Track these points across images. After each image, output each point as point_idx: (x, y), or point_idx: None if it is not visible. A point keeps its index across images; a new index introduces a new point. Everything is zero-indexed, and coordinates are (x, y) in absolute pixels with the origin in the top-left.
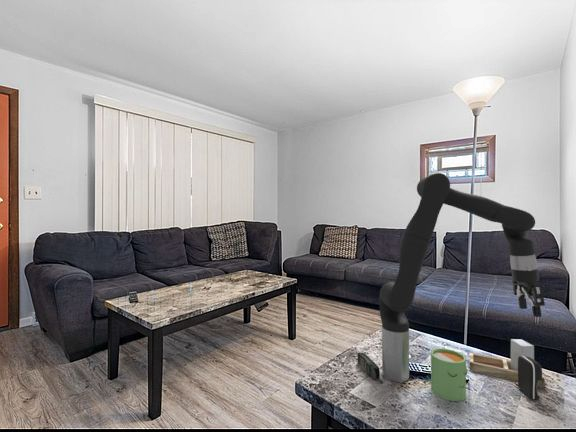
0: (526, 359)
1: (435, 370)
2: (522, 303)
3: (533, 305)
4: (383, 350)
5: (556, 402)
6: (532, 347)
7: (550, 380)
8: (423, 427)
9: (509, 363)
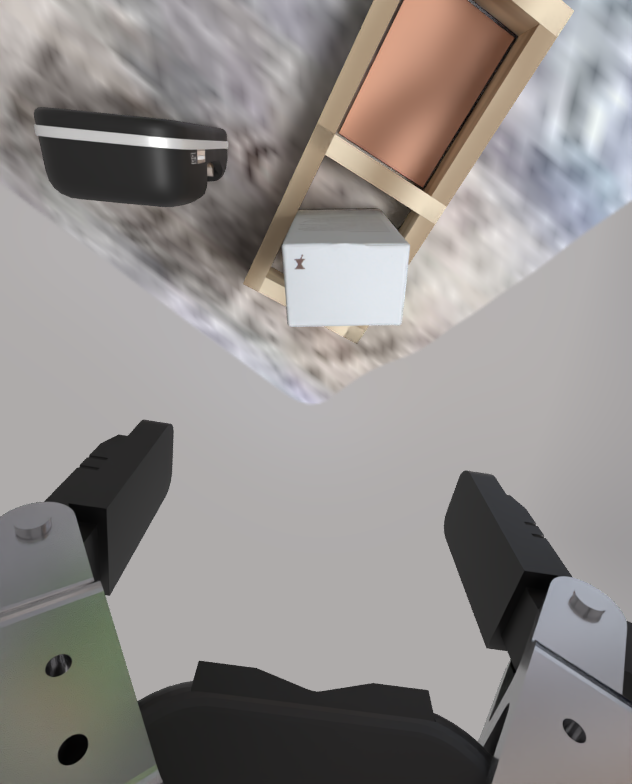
0: (87, 126)
1: None
2: (477, 541)
3: (13, 513)
4: None
5: (134, 232)
6: (287, 312)
7: (307, 338)
8: None
9: (409, 225)
